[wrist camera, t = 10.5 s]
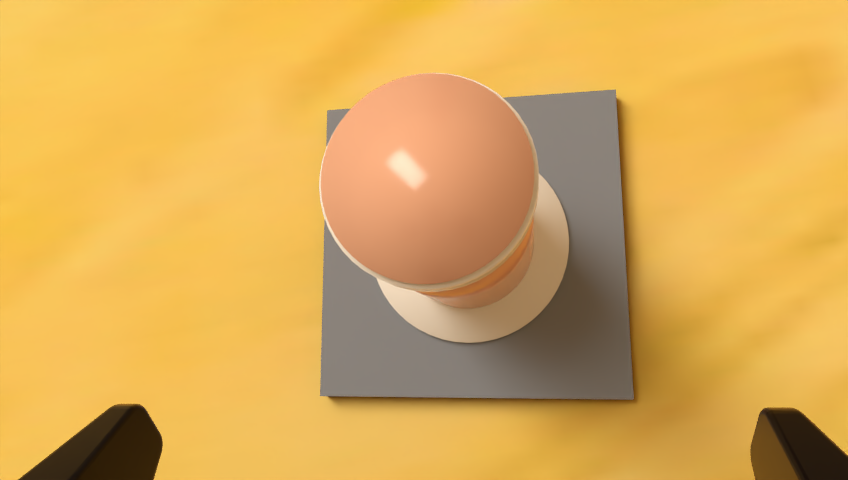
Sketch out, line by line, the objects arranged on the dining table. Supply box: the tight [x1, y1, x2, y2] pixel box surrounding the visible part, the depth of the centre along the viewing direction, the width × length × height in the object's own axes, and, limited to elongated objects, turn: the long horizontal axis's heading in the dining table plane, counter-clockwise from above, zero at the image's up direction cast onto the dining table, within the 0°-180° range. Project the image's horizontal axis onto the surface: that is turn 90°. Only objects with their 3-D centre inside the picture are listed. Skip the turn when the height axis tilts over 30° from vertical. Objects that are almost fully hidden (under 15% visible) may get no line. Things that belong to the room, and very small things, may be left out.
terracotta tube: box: [319, 73, 539, 309], centre depth 18 cm, size 5×5×9 cm
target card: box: [320, 90, 634, 400], centre depth 23 cm, size 11×11×1 cm
